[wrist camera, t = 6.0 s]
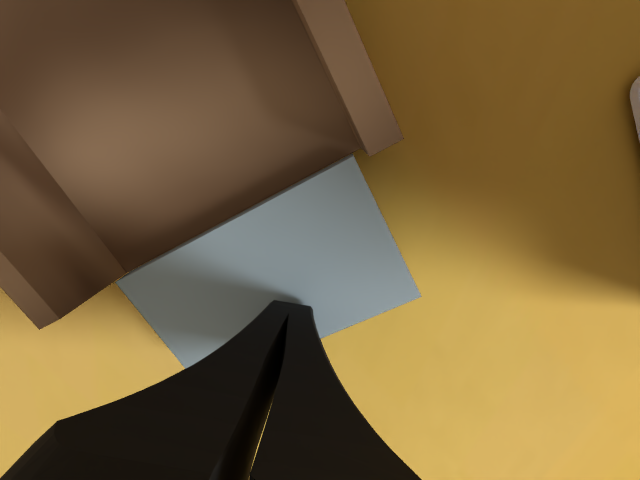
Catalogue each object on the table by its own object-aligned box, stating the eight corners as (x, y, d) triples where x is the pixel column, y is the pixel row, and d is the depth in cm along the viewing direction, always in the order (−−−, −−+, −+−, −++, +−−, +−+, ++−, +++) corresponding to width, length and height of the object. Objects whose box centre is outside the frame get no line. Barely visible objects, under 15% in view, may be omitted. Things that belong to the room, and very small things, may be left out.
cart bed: (380, 134, 11) (403, 138, 7) (126, 270, 13) (39, 329, 9) (164, -347, 8) (-12, -828, 4) (-126, -58, 10) (-422, -176, 6)
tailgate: (352, 153, 10) (415, 284, 11) (129, 271, 12) (208, 372, 13) (353, 155, 9) (421, 296, 10) (115, 282, 11) (201, 388, 12)
